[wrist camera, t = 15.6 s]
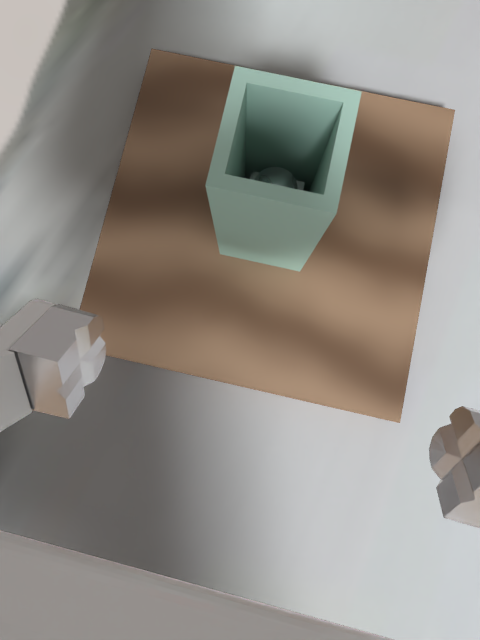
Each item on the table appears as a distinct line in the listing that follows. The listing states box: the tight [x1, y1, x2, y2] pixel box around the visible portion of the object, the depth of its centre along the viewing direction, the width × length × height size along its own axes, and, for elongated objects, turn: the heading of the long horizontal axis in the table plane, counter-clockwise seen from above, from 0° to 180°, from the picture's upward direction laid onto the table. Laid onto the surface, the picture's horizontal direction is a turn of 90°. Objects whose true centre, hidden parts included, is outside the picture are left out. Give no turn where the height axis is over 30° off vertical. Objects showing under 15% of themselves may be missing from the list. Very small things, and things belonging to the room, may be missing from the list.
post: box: [250, 167, 305, 190], centre depth 21 cm, size 3×3×5 cm
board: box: [80, 49, 455, 423], centre depth 24 cm, size 20×20×2 cm
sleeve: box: [205, 66, 362, 272], centre depth 19 cm, size 5×5×9 cm
